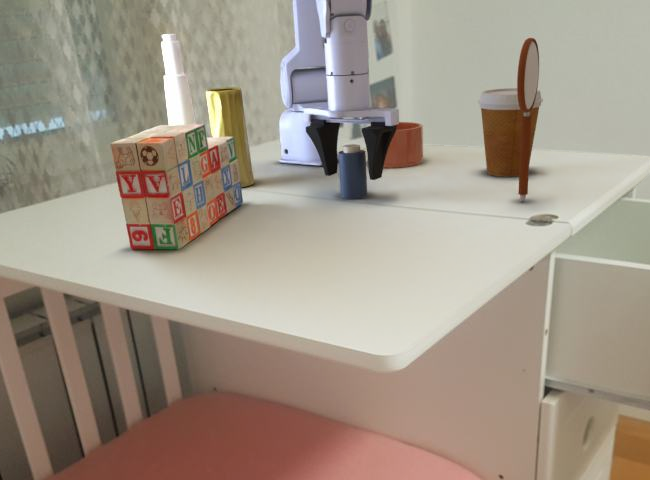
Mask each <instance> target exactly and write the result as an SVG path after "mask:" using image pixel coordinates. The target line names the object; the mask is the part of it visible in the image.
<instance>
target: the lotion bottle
mask: <svg viewBox="0 0 650 480" xmlns="http://www.w3.org/2000/svg"><path fill="white" fill-rule="evenodd" d="M337 154H338V157H339V160H338V170H339V173H338V174H339V187H340V189H339V190H340V198H342V199H345V200H346V199H347V200H357V199H358V200H359V199H363V198H366V197H367V196H368V177H367V157H366V156H367V153H366V150H364V149H361V145H360V144H345V145H343V146H342V150H340V151H337Z"/></svg>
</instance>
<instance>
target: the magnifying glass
mask: <svg viewBox="0 0 650 480" xmlns="http://www.w3.org/2000/svg"><path fill="white" fill-rule="evenodd" d="M539 76H540V51H539V45H538V43H537V39H535V38H534V37H528V38H526V39H525V40H524V42H523V44H522V47H521V50H520V54H519V59H518V66H517V76H516V77H517V79H516V88H517V95H518V103H519V107H520V110H521V111H522V112H524V116H522V124H521V146H520V169H519V176H518V191H517V192H518V194H517V195H519V201H521V202H525V201H527V199H526V198H527V195H528V194H529V193H528V192H529V174H530V163H529V156H530V136H531V116H530V111H531V110H532V108H533V105H534V102H535V99H536V94H537V89H538V88H539V87H538V86H539V78H540V77H539Z"/></svg>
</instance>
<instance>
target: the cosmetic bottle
mask: <svg viewBox="0 0 650 480" xmlns="http://www.w3.org/2000/svg"><path fill="white" fill-rule="evenodd" d="M161 38H162V41H161V42H160V44H161V45H160V46H161V51H162V57H163V63H164V71H165V75H163V83H164V93H165V102H166V103H165V104H166V110H167V111H166V112H167V120H168V125H191V124H197V119H196V115H195V109H194V104H193V97H192V93H191V88H190V82H189V78H188V74H187V73H185V71H184V70H185V69H184V63H183V62H184V61H183V56H182V49H181V43H180V41H179V40H178V39H177V38H178V36H177V34H176V33H165V34H164V33H163V34H162V35H161Z"/></svg>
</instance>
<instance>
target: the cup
mask: <svg viewBox="0 0 650 480" xmlns="http://www.w3.org/2000/svg"><path fill="white" fill-rule="evenodd" d="M369 126H371V124H369V125H368V126H367V127H369ZM396 126H397V130H396V132H395V134H394V136H393V138H392V141H391V143H390V145H389V148H388V151H387V154H386V158H385V162H384V166H383V169H399V168H400V169H401V168H408V167H409V168H410V167H414V166H418V165H420V164H422V163H423V161H424V125H423V124H422V123H419V122H413V121H412V122H411V121H410V122H409V121H399V124H397V125H396ZM366 156H367V157H366V161H368V155H367V154H366Z"/></svg>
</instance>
